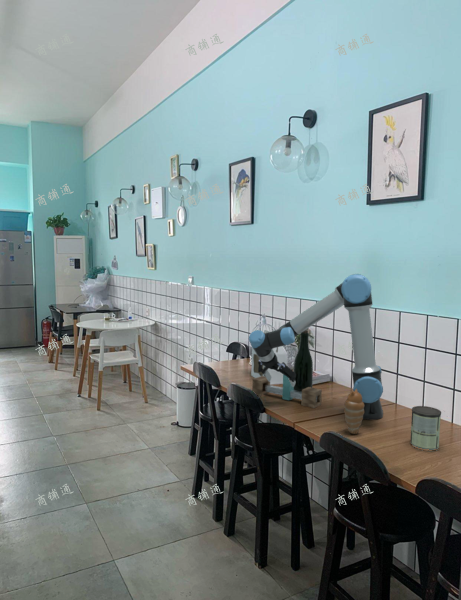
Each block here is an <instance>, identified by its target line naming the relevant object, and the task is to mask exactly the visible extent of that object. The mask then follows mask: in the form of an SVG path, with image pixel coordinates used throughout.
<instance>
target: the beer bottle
mask: <svg viewBox="0 0 461 600" xmlns="http://www.w3.org/2000/svg"><path fill="white" fill-rule="evenodd" d="M299 335H300V338H299V347H298V350H297V352H296V355H295V357H294V361H293V370H292V371H293V372H294V373H296V377H295V381H296V383H295V385H294V390H296V391H301V392H302V390H303V389H305V388H307V387H312V388H313V381H314V380H313V379H314V364H313V362H314V361H313V357H312V354H311V351H310V348H309V347H310V346H309V338H310V337H309V336H310V333H309V330H307V329H306V330H304V331H303V332H301V333H300V334H299Z"/></svg>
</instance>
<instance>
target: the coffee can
mask: <svg viewBox="0 0 461 600" xmlns="http://www.w3.org/2000/svg"><path fill="white" fill-rule="evenodd" d="M441 417H442V411H441V410H440V409H438V408H436V407H432V406H426V405H425V406H424V405H416V406H413V407H411V426H410V442H409V444H410V443H411V444H412V445H413V446H415V447H418V448H422V449H429V450H434V449H438V448H439V449H440V434H441V433H440V431H441ZM439 449H438V450H439Z"/></svg>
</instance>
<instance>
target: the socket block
mask: <svg viewBox="0 0 461 600" xmlns="http://www.w3.org/2000/svg"><path fill="white" fill-rule="evenodd" d="M266 385H270V382H268V380H267V378H266V377H265V376H260V377H257V378H254V377H253V378H252V385H251V386H252V387H251V388H252V389H251V390H252V391H254V392H255V393H256V394H257V395H258V396H257V395H256V396H257V397H261V396H264V395H267V394H271V393H270V392H265V386H266ZM252 391H251V392H252Z"/></svg>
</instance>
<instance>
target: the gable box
mask: <svg viewBox="0 0 461 600" xmlns="http://www.w3.org/2000/svg"><path fill="white" fill-rule="evenodd" d="M268 332H270V331H268V330H266V329H265V330H264V331H263V333H268ZM273 351H274V353H275V355H276V356H277V361H278V362H279V363H280V364H282V362H284V363H285V364H286V366H288V358H289V357H288V356H289V354H288V352H287V350H286V349H285V347H284V346H281V347H276V348H273ZM258 361H259V357H258V355H257V354H256V352H255V351H254V349H253V347H252V346H251V370H250V372H251V374H250V376H251V377H253V379H254V378H257V377H260V376H264V374H263V373H262V372H258V367H259V364H258ZM264 367H265V366H264V365H263V366H262V369H264ZM278 369H279V367H278ZM267 370H268V372H269V373H270V375H271V377H272V378H271V380H270V385H283V374H282V373H281V372H277V371H276V370H274V369H270V368H268V369H267Z"/></svg>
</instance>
